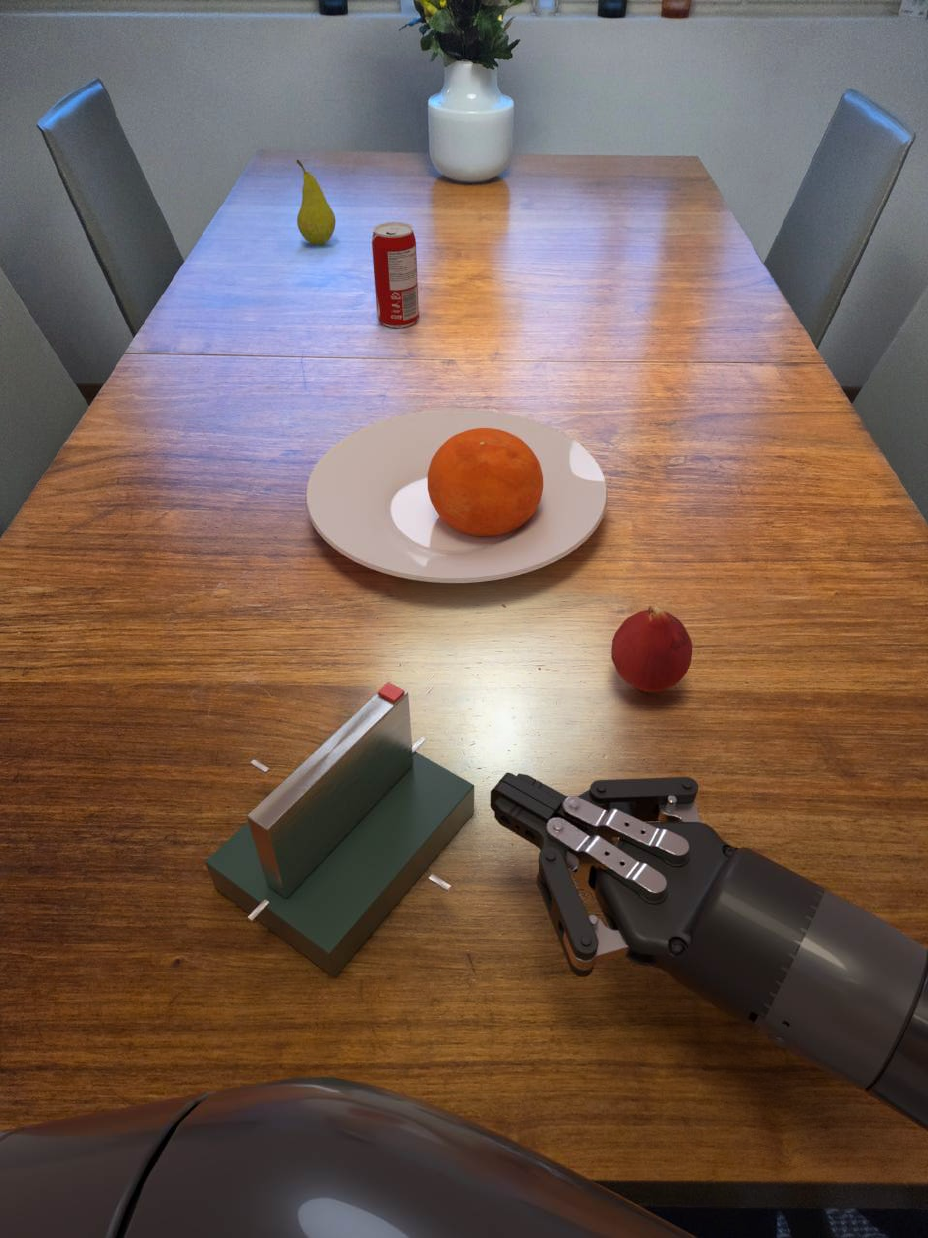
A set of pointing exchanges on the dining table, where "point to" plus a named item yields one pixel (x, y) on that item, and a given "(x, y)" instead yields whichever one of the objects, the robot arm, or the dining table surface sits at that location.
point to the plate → (456, 495)
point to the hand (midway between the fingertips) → (497, 790)
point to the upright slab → (332, 790)
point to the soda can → (395, 274)
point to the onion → (652, 650)
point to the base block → (352, 866)
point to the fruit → (314, 212)
